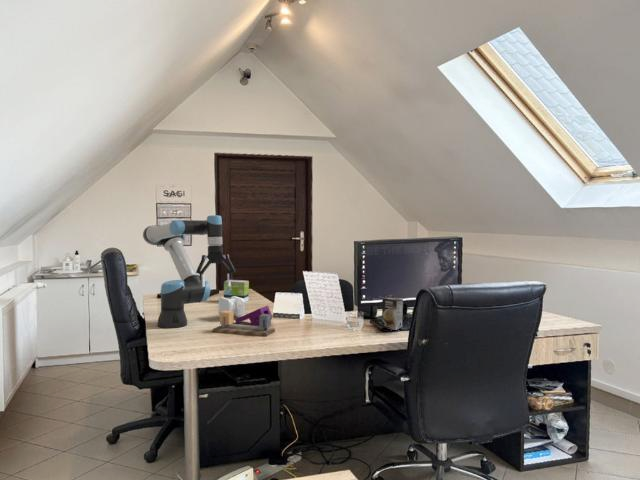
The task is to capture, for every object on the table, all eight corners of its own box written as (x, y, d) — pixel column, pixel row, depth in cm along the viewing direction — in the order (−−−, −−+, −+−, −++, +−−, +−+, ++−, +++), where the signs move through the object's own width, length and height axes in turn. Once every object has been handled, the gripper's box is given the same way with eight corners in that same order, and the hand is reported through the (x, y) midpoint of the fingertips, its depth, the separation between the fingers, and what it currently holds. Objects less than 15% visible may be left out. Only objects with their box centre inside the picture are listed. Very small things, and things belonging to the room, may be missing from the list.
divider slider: (218, 327, 243) (218, 312, 243) (224, 324, 250) (224, 310, 249) (227, 327, 242) (227, 313, 242) (233, 325, 248) (233, 311, 248)
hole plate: (212, 332, 241) (212, 328, 241) (222, 327, 252) (222, 324, 252) (266, 336, 234) (266, 333, 234) (274, 331, 244) (275, 328, 244)
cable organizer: (217, 316, 282) (217, 296, 281) (234, 314, 288) (234, 295, 287) (228, 320, 269) (228, 300, 269) (245, 319, 276) (246, 298, 275)
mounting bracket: (237, 336, 260) (265, 323, 254) (231, 321, 261) (259, 308, 255) (246, 332, 269) (274, 320, 263) (240, 317, 270) (267, 305, 264)
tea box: (223, 302, 331) (223, 281, 330) (228, 300, 341) (228, 279, 340) (244, 303, 328) (244, 281, 328) (249, 301, 338) (249, 280, 338)
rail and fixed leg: (218, 328, 243) (218, 313, 243) (224, 325, 250) (224, 311, 249) (265, 331, 236) (266, 316, 236) (270, 329, 243) (270, 314, 242)
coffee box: (381, 328, 254) (381, 298, 254) (388, 326, 259) (388, 296, 258) (395, 331, 248) (396, 300, 248) (402, 329, 253) (403, 298, 252)
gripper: (189, 246, 248) (190, 287, 247) (236, 244, 245) (238, 286, 245) (194, 246, 255) (195, 286, 255) (240, 244, 253) (241, 285, 252)
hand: (216, 286), depth 250 cm, fingers open, 13 cm apart
